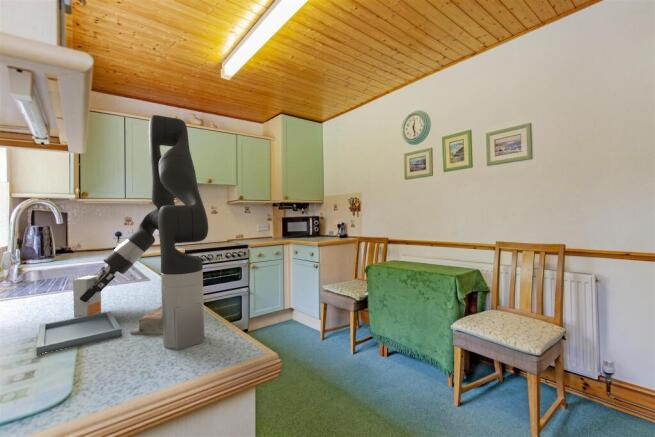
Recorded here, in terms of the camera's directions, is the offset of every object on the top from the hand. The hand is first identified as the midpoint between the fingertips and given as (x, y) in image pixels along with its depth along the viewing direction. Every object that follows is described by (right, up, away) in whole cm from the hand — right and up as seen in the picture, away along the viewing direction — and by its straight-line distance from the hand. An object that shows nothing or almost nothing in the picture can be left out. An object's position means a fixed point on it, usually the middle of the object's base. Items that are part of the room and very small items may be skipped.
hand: (81, 298), depth 96 cm
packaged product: (+29, -6, -6) cm, 31 cm away
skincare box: (+1, -6, +1) cm, 6 cm away
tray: (+10, -6, -14) cm, 18 cm away
